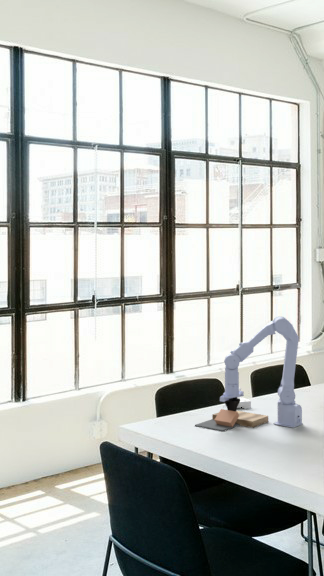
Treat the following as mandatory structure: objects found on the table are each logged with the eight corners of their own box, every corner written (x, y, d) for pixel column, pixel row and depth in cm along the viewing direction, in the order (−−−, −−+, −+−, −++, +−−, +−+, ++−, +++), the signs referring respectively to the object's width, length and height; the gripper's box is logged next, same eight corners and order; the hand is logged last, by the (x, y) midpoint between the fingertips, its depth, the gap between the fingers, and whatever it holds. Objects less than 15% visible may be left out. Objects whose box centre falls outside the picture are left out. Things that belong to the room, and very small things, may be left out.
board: (268, 421, 282) (268, 415, 282) (252, 427, 273) (252, 421, 273) (228, 414, 295) (228, 409, 295) (212, 420, 286) (212, 414, 286)
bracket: (224, 404, 318) (224, 388, 318) (238, 402, 320) (238, 387, 320) (236, 409, 306) (236, 393, 306) (250, 408, 308) (250, 392, 308)
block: (239, 415, 276) (237, 411, 275) (232, 426, 272) (230, 422, 271) (223, 413, 281) (221, 409, 280) (216, 423, 278) (214, 419, 276)
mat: (239, 425, 277) (239, 424, 277) (223, 431, 268) (223, 430, 268) (212, 420, 286) (212, 419, 286) (194, 426, 277) (194, 424, 277)
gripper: (233, 379, 287) (233, 411, 288) (213, 385, 276) (213, 418, 276) (247, 381, 282) (247, 413, 283) (227, 387, 271) (228, 420, 272)
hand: (232, 416), depth 279 cm, fingers closed
